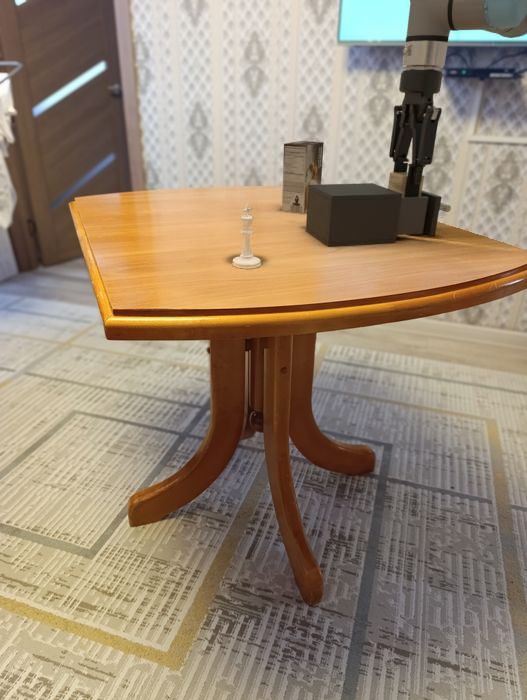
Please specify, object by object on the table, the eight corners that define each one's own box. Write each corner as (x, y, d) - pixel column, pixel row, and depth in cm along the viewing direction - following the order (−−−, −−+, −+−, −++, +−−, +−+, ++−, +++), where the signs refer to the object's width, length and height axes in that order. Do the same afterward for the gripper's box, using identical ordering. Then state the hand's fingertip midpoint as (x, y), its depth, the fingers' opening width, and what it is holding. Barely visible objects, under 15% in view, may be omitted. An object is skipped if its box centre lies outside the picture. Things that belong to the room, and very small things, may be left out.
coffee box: (297, 207, 131) (300, 140, 124) (320, 210, 129) (324, 142, 121) (280, 213, 124) (283, 142, 117) (304, 216, 121) (308, 144, 114)
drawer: (423, 222, 115) (429, 186, 112) (452, 234, 105) (460, 196, 102) (351, 225, 111) (355, 188, 107) (375, 238, 101) (380, 198, 97)
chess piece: (226, 264, 87) (225, 204, 82) (246, 258, 90) (246, 200, 86) (247, 270, 84) (247, 209, 80) (266, 264, 87) (268, 205, 83)
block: (407, 196, 108) (411, 172, 106) (420, 201, 104) (424, 175, 101) (386, 197, 107) (389, 172, 104) (398, 202, 102) (402, 176, 100)
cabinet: (367, 228, 113) (372, 183, 108) (395, 243, 102) (402, 193, 98) (305, 231, 109) (308, 184, 105) (327, 246, 98) (332, 195, 94)
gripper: (381, 70, 101) (367, 190, 112) (431, 67, 86) (410, 207, 96) (414, 71, 103) (398, 189, 114) (469, 68, 88) (444, 206, 98)
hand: (403, 197), depth 105 cm, fingers closed on block, 5 cm apart
